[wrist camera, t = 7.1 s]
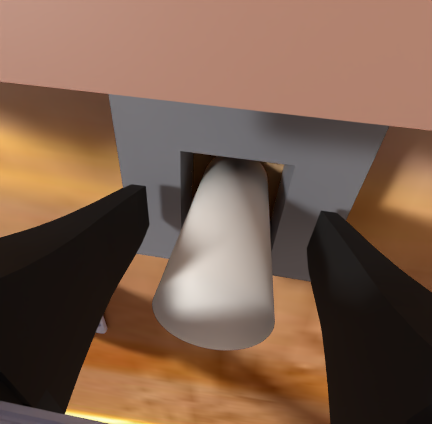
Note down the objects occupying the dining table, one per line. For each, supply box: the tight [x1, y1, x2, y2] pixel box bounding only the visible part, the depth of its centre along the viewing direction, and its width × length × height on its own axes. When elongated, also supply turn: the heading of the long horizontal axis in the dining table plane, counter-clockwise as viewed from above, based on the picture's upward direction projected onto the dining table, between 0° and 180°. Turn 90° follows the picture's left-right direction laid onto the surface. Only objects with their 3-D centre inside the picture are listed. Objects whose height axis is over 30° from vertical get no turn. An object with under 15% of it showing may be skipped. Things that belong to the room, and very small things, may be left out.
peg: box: [152, 156, 275, 350], centre depth 10 cm, size 3×3×8 cm
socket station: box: [0, 0, 432, 281], centre depth 8 cm, size 14×10×8 cm
